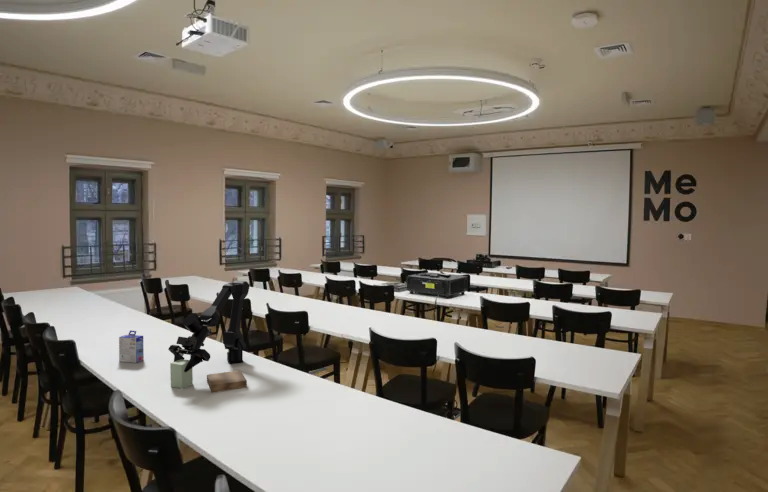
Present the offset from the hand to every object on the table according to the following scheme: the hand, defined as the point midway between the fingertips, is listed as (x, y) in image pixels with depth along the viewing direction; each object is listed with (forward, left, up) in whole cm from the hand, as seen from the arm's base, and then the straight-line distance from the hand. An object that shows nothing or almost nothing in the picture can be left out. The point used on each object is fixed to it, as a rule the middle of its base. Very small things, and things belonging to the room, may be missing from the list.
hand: (178, 370), depth 200 cm
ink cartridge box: (+18, -46, -7) cm, 50 cm away
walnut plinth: (-18, +6, -7) cm, 20 cm away
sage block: (-1, -1, -7) cm, 7 cm away
